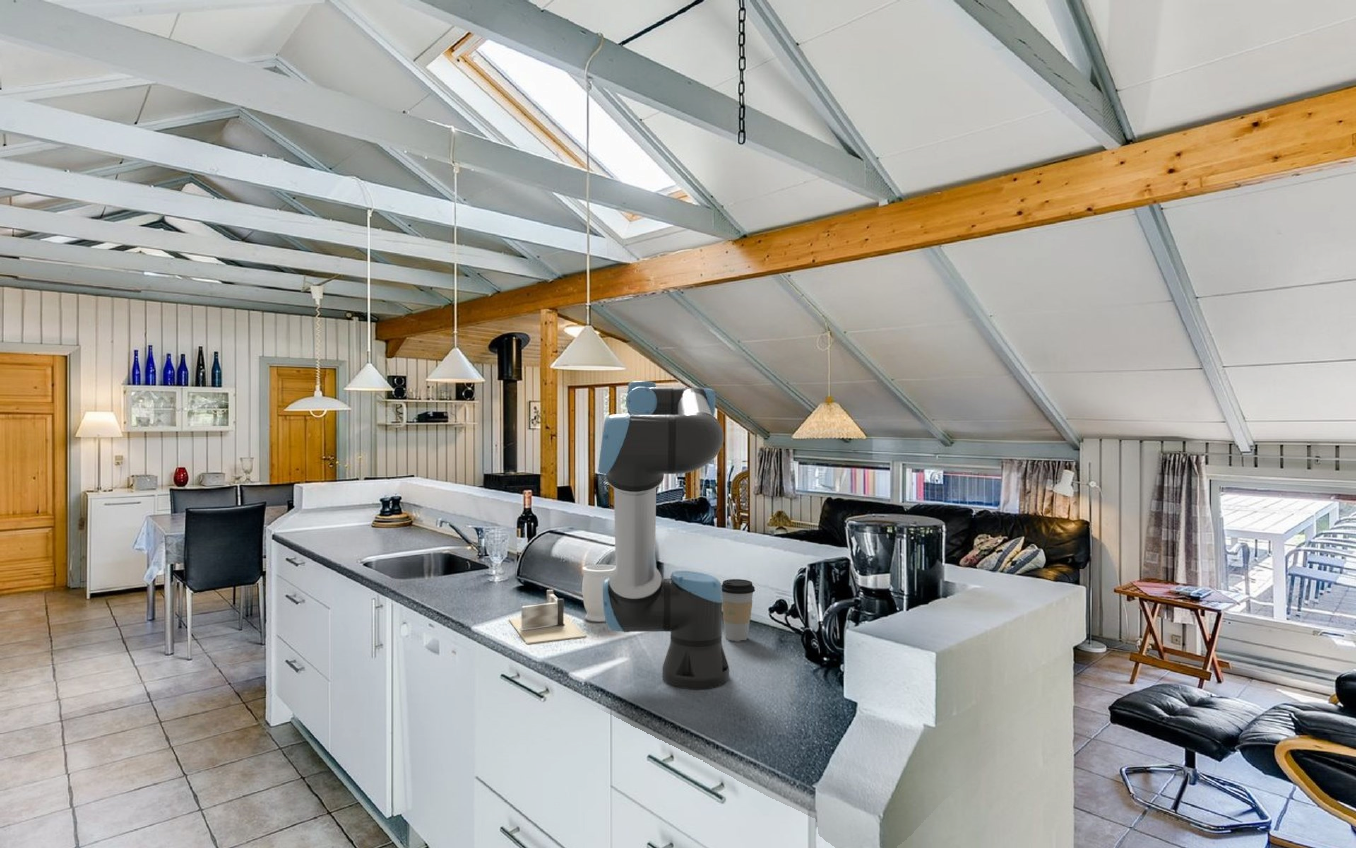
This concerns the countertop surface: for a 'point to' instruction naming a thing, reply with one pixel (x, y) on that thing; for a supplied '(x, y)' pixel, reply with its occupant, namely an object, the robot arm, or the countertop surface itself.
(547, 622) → the fence flap
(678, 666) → the robot arm
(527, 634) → the card
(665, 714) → the countertop surface
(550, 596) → the fence fixed
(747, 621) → the coffee cup
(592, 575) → the jar
